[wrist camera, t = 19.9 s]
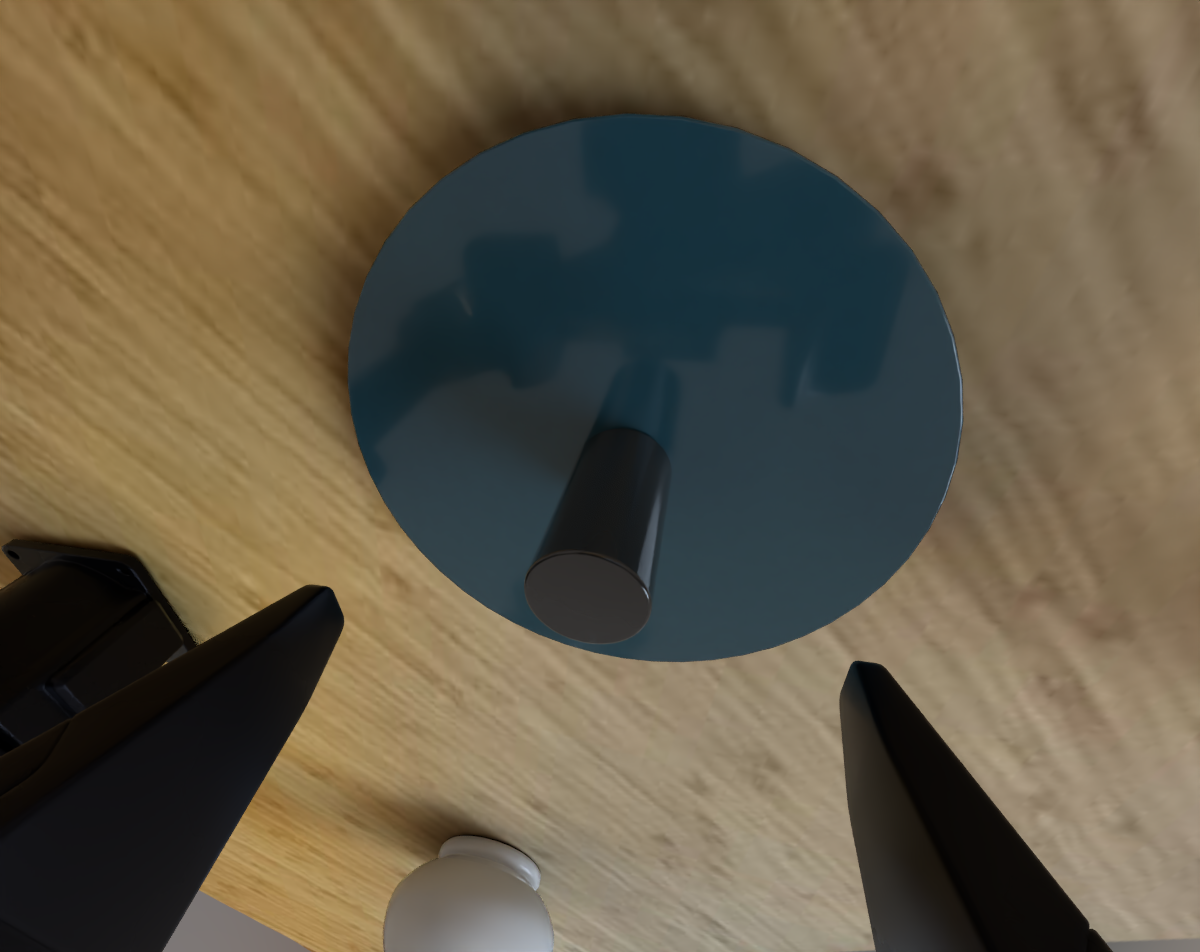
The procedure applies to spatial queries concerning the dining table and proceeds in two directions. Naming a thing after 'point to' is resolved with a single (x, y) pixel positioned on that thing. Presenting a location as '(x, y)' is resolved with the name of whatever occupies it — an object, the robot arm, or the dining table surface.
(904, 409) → the lid
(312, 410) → the dining table surface
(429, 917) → the flower vase
